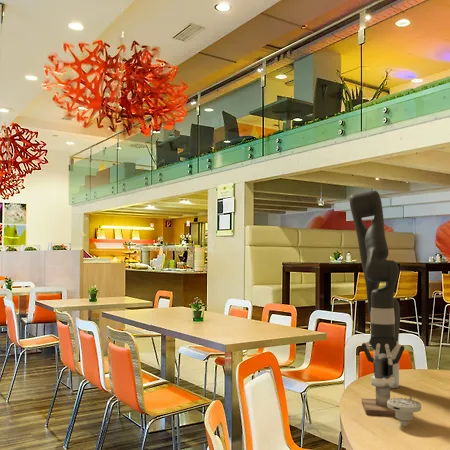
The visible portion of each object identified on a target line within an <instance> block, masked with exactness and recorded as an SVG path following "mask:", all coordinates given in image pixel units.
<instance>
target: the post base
mask: <svg viewBox="0 0 450 450" xmlns="http://www.w3.org/2000/svg"><path fill="white" fill-rule="evenodd" d="M390 399H391V388H382V387H376V386H375V398H361V404H362V408H363V410H364V412H365V415H366V416H383V417H396V416H395V410H392V409H390V408H388V407H387V401H388V400H390Z"/></svg>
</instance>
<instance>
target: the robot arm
mask: <svg viewBox="0 0 450 450" xmlns="http://www.w3.org/2000/svg"><path fill="white" fill-rule="evenodd" d="M349 206H350V211H351V215H352V219H353V225H354V228H355V233H356V236H357V243H358V249H359V251H358V252H359V257H360V261H361V266H362V271H363V276H364V277H363V278H364V284H365V290H366V301H367V311H368V315H369V317H370V338H369V341H367V342H362V343H361V347H362V349H363V352H364V355H365V357H366V359H367V361H368V362H369V363H372V365H374V360H376V359H380V358H384V357H387V358H388V362H389V364H388V377H391V376H394V377H395V386H394V387H391V388H390V389H396V388H397V389H398V388H400V360H401V357H402V356H403V353H404V350H405V345H404V344H400V343H399V342H400V341H399V335H400V323H401V322H400V320H401V319H400V318H401V317H400V315H401V306H400V302H399V301H398V300H397V299H396V298H394V297H395V296H394V295H395V289H396V285H397V281H398V277H399V274H400V267H399V265H398V263H397V262H396V261H395V260H392V259H387V258H388V256H389V248H388V247H389V246H388V243H387V239H386V235H385V233H386V232H385V221H384V212H383V203H382V200H381V195H380V193H379V192H378V191H377V190H369V191H364V192H358V193H353V194H351V195H350V196H349ZM370 217H373V220H372V222H371V224H370V225H369V227H368V228H367V226H366V225H365V223H364V221H363V219H364V218H370ZM384 282H385V285H384V286H383V287H380V288H379V286H380V283H384ZM370 346H371V348H372V349H373V357H372V354H371V352H370V350H369V349H370ZM373 374H375V372H374V371H373Z"/></svg>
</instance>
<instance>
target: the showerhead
mask: <svg viewBox="0 0 450 450" xmlns="http://www.w3.org/2000/svg"><path fill="white" fill-rule="evenodd" d="M387 407H388V408H390V409H392V410H395V416H394V417H395V418H396V419H397V420H399V421H400V422H399V423H400V425H401V426H403V427H408V426H409V421H412V420H413V419H414V413H418V412H420V411H421V410H422V403H420V402H419V401H417V400H415V399H413V396H409V398H406V397H405V398H403V397H400V398H398V397H396V398H395V397H394V398H390V400H388V401H387Z"/></svg>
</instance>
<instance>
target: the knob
mask: <svg viewBox="0 0 450 450" xmlns="http://www.w3.org/2000/svg"><path fill="white" fill-rule="evenodd" d="M388 364H389V362H388V358H387V357H384V358H380V359H376V360H374V364H373V374H371V375H370V384H371V385H372V386H373V387H375V388H376V387H382V388H390V389H392V388H391V387H394V386H395V377H394V376H391V377H388ZM374 372H375V374H374Z"/></svg>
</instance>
